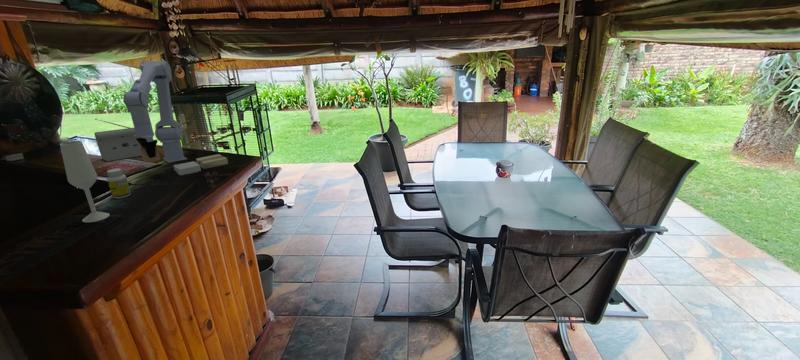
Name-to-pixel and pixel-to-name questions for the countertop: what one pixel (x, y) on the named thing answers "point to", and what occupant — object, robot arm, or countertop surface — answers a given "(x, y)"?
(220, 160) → the olive block
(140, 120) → the robot arm
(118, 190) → the supplement bottle
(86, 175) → the champagne flute
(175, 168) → the grey block
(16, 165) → the countertop surface
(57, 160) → the countertop surface
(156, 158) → the terracotta cube
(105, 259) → the countertop surface
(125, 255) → the countertop surface
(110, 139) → the stereo radio cassette player
